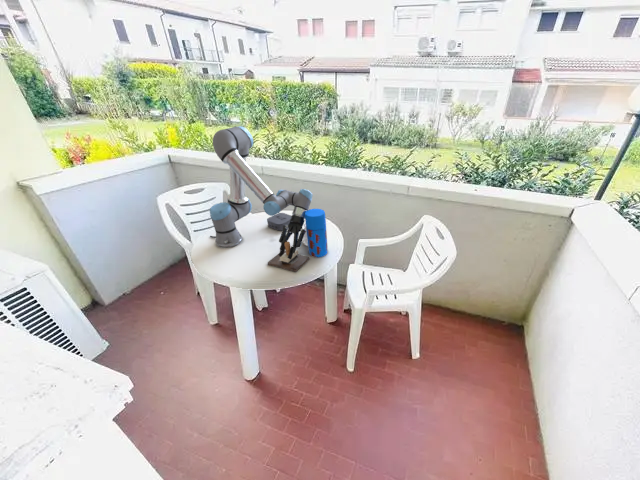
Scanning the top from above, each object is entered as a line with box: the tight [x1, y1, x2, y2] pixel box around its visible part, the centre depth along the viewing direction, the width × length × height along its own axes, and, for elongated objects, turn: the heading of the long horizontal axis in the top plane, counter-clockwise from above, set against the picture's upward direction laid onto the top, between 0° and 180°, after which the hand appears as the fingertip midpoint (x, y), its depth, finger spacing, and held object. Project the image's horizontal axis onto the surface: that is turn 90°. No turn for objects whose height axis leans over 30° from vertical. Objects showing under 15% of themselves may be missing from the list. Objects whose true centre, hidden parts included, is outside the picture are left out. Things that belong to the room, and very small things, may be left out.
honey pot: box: [302, 222, 308, 247], centre depth 169 cm, size 13×13×18 cm
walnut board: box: [267, 250, 310, 273], centre depth 155 cm, size 18×14×2 cm
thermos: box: [304, 208, 328, 258], centre depth 157 cm, size 11×11×25 cm
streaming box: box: [266, 212, 292, 232], centre depth 192 cm, size 14×14×5 cm
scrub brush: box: [280, 241, 299, 264], centre depth 152 cm, size 10×5×10 cm, turn 157°
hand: (284, 257), depth 151 cm, fingers closed on scrub brush, 5 cm apart
